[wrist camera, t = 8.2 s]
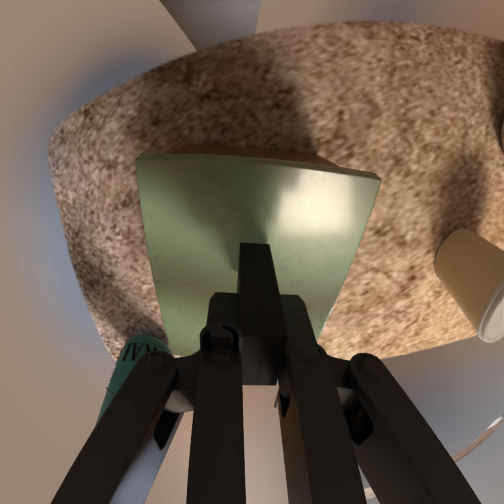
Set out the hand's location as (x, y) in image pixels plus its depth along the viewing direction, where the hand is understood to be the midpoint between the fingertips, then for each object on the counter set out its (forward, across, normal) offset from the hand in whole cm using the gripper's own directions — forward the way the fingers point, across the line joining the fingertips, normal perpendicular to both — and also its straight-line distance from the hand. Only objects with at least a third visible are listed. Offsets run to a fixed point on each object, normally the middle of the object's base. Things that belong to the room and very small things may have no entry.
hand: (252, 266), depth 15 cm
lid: (+2, 0, -3) cm, 3 cm away
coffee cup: (+12, +27, -4) cm, 30 cm away
